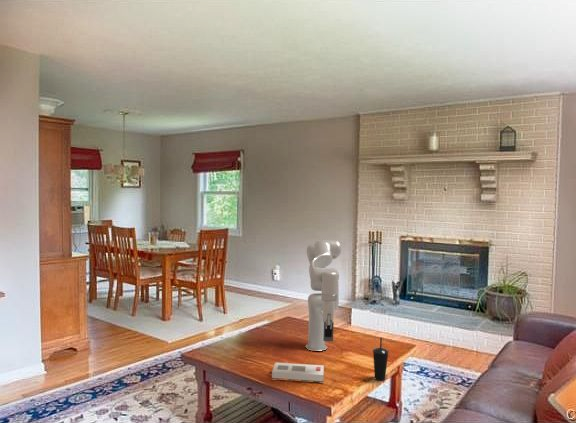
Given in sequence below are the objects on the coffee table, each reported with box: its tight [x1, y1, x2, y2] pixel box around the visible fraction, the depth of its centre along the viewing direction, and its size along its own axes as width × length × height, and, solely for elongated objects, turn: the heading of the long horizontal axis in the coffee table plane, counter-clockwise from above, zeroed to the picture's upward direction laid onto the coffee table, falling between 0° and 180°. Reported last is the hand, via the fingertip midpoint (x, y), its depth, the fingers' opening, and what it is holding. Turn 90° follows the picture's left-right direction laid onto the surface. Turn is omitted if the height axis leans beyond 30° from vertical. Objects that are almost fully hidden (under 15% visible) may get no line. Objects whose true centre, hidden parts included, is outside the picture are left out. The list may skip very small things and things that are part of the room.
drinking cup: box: [372, 336, 390, 382], centre depth 218 cm, size 8×8×20 cm
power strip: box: [271, 362, 325, 383], centre depth 218 cm, size 12×24×5 cm, turn 84°
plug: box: [323, 321, 334, 343], centre depth 216 cm, size 4×4×9 cm
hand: (328, 334), depth 216 cm, fingers closed on plug, 4 cm apart
